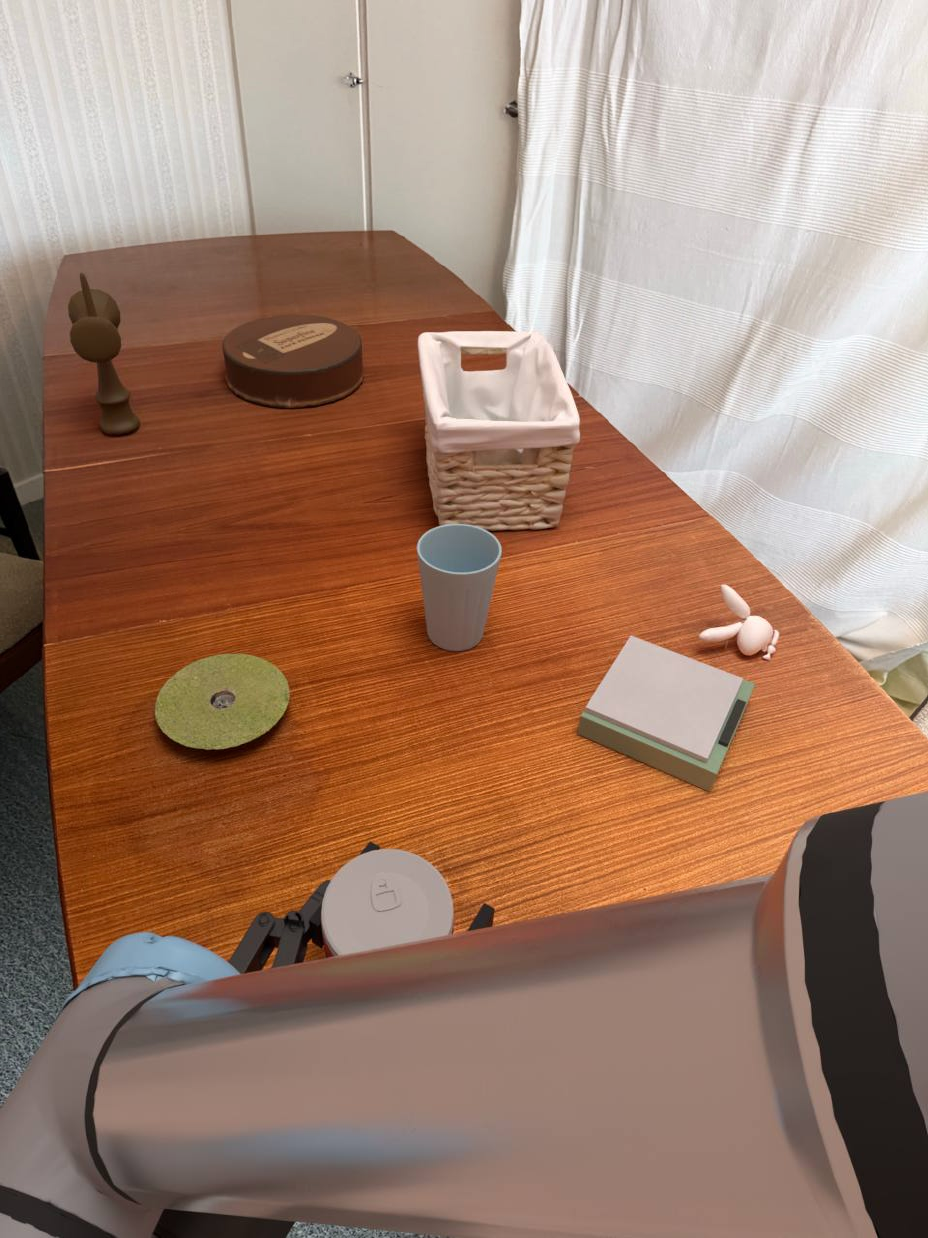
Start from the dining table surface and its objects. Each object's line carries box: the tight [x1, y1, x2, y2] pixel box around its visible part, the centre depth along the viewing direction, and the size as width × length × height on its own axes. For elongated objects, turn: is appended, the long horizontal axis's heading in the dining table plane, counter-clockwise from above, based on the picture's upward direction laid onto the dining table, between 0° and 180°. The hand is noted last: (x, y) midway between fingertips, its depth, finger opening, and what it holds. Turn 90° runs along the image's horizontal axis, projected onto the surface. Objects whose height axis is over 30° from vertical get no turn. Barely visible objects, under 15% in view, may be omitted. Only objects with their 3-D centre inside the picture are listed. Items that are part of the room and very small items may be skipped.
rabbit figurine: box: [698, 584, 780, 661], centre depth 81 cm, size 6×4×8 cm
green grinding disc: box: [154, 653, 291, 751], centre depth 72 cm, size 11×11×2 cm
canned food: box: [321, 848, 455, 958], centre depth 51 cm, size 8×8×11 cm
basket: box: [417, 330, 581, 532], centre depth 98 cm, size 24×16×15 cm
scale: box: [576, 635, 756, 793], centre depth 73 cm, size 12×12×3 cm
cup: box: [416, 524, 503, 652], centre depth 78 cm, size 8×8×10 cm
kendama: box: [67, 272, 141, 436], centre depth 103 cm, size 6×10×20 cm, turn 19°
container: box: [221, 313, 365, 409], centre depth 121 cm, size 20×20×6 cm
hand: (429, 885), depth 54 cm, fingers closed on canned food, 8 cm apart
